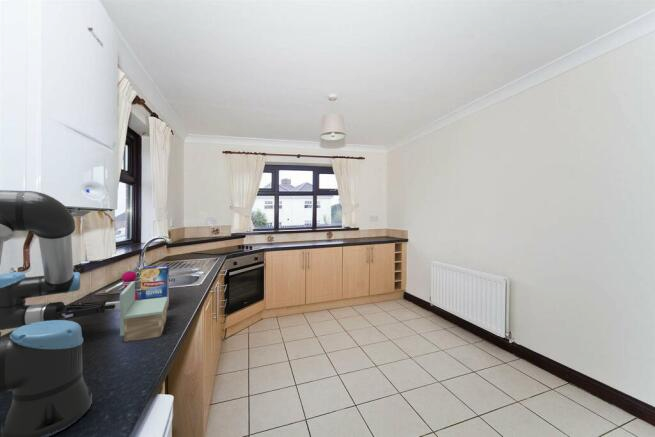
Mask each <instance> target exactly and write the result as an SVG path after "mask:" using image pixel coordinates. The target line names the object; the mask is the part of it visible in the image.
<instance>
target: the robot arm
mask: <svg viewBox="0 0 655 437" xmlns="http://www.w3.org/2000/svg"><path fill="white" fill-rule="evenodd" d="M23 196H24V197H23ZM74 218H75V217H74V216H73V214H72V212H71V211H70V210H69V209H68V207H67V206H66V205H65V204H63V203H62V202H60V200H58V199H56V198H54V197H53V196H50V195H48V194H46V193H42V192H39V191H32V190H8V189H7V190H5V189H4V190H3V189H0V265H1V263H2V262H1V261H2V255H3V249H4V248H3V247H4V243H5V242H7V241H9V240H11V239H12V238H13V237H14V232H16V231H17V232H18V231H19V232H20V231H22V232H23V231H32V233H33V235H35V236H36V237H37V238H38V244H39V250H40V251H39V252H40V257H41V262H42V263H41V264H42V270H43V275H36V276H29V277H28V276H26V274H25V273H24V272H7V273H1V274H0V394H4V393H7V392H10V391H11V392H12V395H11V396H12V400H11V403H10V406H9V409H8V411H7V414H6V418H5V420H3V423H2V425H1V428H0V437H41V436H43V435H45V434H48V433H52V432H54V431H56V430H59V429H61V428H63V427H65V426H67V425H69V424H70V423H72V422H74V421H75V420H77V419H78V418H80V417H81V416H82V415H83V414H84V413H85V412H86V411H87V410H88V409H89V408H90V406H91V404H92V405H93V395H92V394H93V393H92V392H91V390H90V389H89V387H88V385H87V382H86V380H85V379H84V376H83V343H84V337H83V333H82V332H83V331H82V326H81V325H80V324H79V323H78V322H76V321H73V320H71V319H74V318H75V319H76V318H81V317H85V316H91V315H96V314H105V313H106V311H112V310H113V311H114V310H120V300H118V301H117V300H116V301H110V302H109V301H107V300H104V301H103V300H102V301H101V300H99V301H79V302H77V303H72V304H69V305H65V303H64V302H63V301H55V302H49V303H47V302H43V303H42V302H41V303H36V304H26V299H31V298H37V297H43V296H45V297H46V296H53V295H57V294H58V295H60V294H68V293H72V292H77V291H79V290H80V289H81V273H80V272H78V271H77V272H76V271H74V263H73V259H74V258H73V243H72V242H73V241H72V240H73V239H72V235H73V233H75V230H76V221H75V219H74ZM10 329H14V330H13V331H12V332H11V333H10V335H9V336H6V337H2V331H5V330H10ZM91 407H92V406H91ZM90 409H91V408H90Z"/></svg>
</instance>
